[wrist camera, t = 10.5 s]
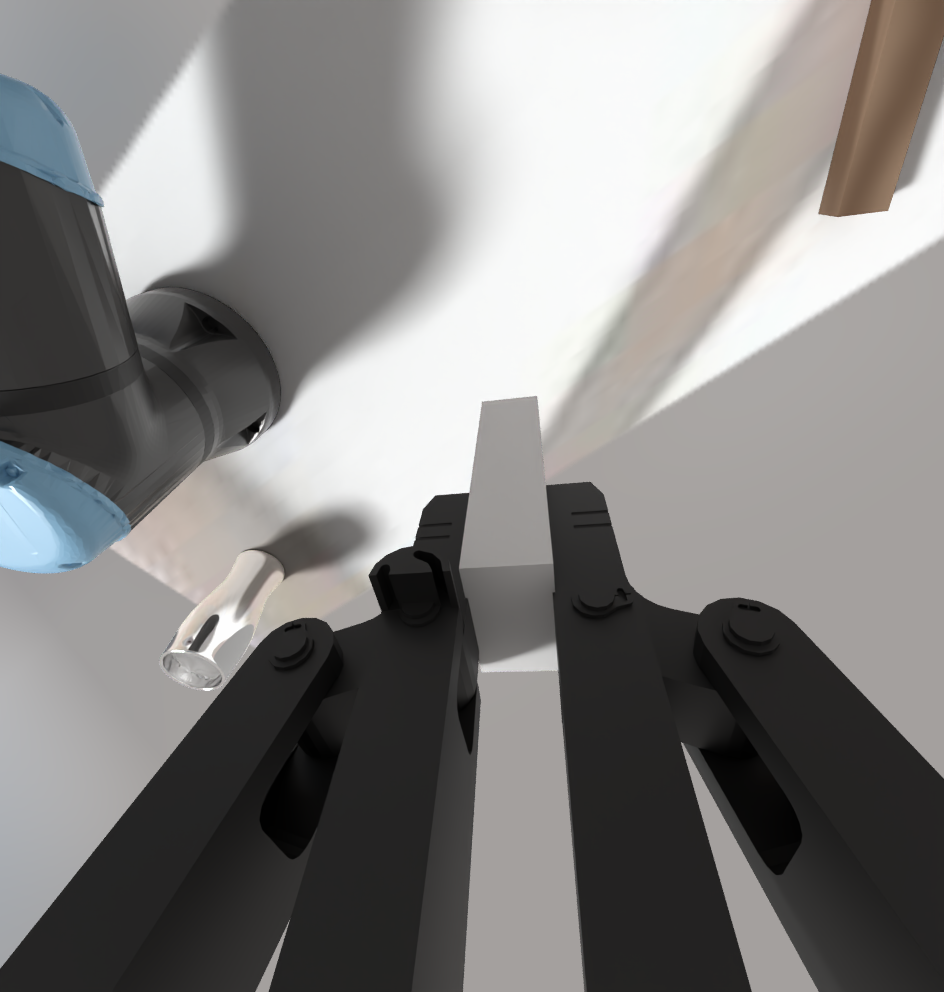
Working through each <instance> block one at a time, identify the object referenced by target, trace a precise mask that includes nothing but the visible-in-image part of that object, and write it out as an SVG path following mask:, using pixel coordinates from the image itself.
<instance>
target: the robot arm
mask: <svg viewBox="0 0 944 992" xmlns="http://www.w3.org/2000/svg"><path fill="white" fill-rule="evenodd" d="M101 207H104V203H103V200H102V198H101V197H100V196H99V194H97V193H96V191H95V188H94V185H93V183H92V180H91V177H90V174H89V171H88V167H87V165H86V161H85V158H84V155H83V152H82V149H81V146H80V143H79V140H78V137H77V134H76V131H75V129H74V127H73V125H72V123H71V122H70V120H69V119H68V117H67V116H66V114H65V113H64V112H63V111H62V110H61V108H60V107H59V106H58V105H57V104H56V103H55V102H54V101H53V100H51V99H50V98H49V97H48V96H46V95H45V94H43V93H42V92H41V91H39V90H38V89H36V88H34V87H32V86H31V85H29V84H26V83H24V82H22V81H20V80H17V79H14V78H12V77H9V76H6V75H3V74H0V567H4V568H7V569H12V570H17V571H23V572H31V573H60V572H66V571H70V570H73V569H76V568H79V567H81V566H83V565H85V564H87V563H89V562H91V561H92V560H93V559H95V558H96V557H97V556H98V555H100V554H101V553H102V552H103V551H104V550H106V549H107V548H108V547H110V546H111V545H112V544H113V543H115V542H117V541H120V540H122V539H123V538H125V537H126V536H127V535H128V534H129V533H130V531H131V530H132V529H133V528H134V527H135V526H136V525H137V524H138V523H139V522H140V521H142V520H143V519H144V518H145V517H146V516H147V515H148V514H149V513H150V512H151V511H152V510H153V509H154V508H155V507H156V506H157V505H158V504H159V503H160V502H161V501H162V500H163V499H165V498H166V497H167V496H168V495H169V494H170V493H171V492H172V491H173V490H174V489H175V488H176V487H177V486H178V485H179V484H180V483H181V482H182V481H183V480H184V479H185V478H187V477H188V476H189V475H190V474H191V473H192V472H193V471H194V470H195V469H196V468H197V467H198V466H199V465H200V464H201V463H203V462H204V461H207V460H210V459H213V458H217V457H220V456H223V455H226V454H229V453H232V452H235V451H238V450H241V449H243V448H245V447H247V446H248V445H250V444H252V443H253V442H254V441H256V440H257V439H258V438H259V437H260V436H261V435H262V434H263V433H264V432H265V431H266V430H267V429H268V428H269V427H270V425H271V424H272V423H273V421H274V419H275V417H276V415H277V412H278V409H279V405H280V396H281V390H280V381H279V376H278V372H277V369H276V366H275V364H274V361H273V359H272V357H271V355H270V353H269V351H268V349H267V347H266V346H265V344H264V343H263V341H262V340H261V338H260V337H259V336H258V334H257V333H256V332H255V331H254V330H253V328H252V327H251V326H250V325H249V324H248V323H247V322H246V321H245V320H244V319H243V318H242V317H240V316H239V315H238V314H237V313H236V312H234V311H233V310H232V309H230V308H229V307H227V306H226V305H224V304H223V303H221V302H219V301H218V300H216V299H214V298H212V297H210V296H208V295H205V294H202V293H200V292H197V291H193V290H189V289H184V288H176V287H166V288H158V289H154V290H151V291H148V292H145V293H142V294H139V295H136V296H133V297H131V298H129V299H127V300H126V299H125V296H124V292H123V288H122V284H121V281H120V277H119V273H118V269H117V265H116V262H115V258H114V254H113V250H112V247H111V243H110V239H109V235H108V231H107V228H106V224H105V220H104V216H103V212H102V209H101ZM369 578H370V581H371V584H372V587H373V589H374V592H375V595H376V597H377V600H378V603H379V606H380V608H381V611H382V612H381V614H380V615H378V616H377V617H375V618H373V619H371V620H368V621H366V622H364V623H361V624H357V625H354V626H351V627H348V628H345V629H342V630H339V631H335V632H333V631H332V630H331V628H330V626H329V625H328V624H327V622H324V621H322V620H319V619H317V618H301V619H297V620H294V621H291V622H288V623H285V624H284V625H282V626H280V627H279V628H277V629H275V630H274V631H272V632H271V633H270V634H269V635H268V636H267V637H266V638H265V639H264V640H263V641H262V642H261V643H260V644H259V645H258V646H257V648H256V649H255V650H254V651H253V653H252V654H251V655H250V656H249V658H248V659H247V660H246V661H245V663H244V664H243V665H242V666H241V668H240V669H239V670H238V671H237V673H236V674H235V675H234V676H233V678H232V679H231V680H230V682H229V683H228V684H227V685H226V687H225V688H224V689H223V690H222V691H221V693H220V694H219V695H218V696H217V698H216V699H215V700H214V701H213V703H212V704H211V705H210V706H209V708H208V709H207V710H206V711H205V713H204V714H203V715H202V716H201V718H200V719H199V720H198V721H197V723H196V724H195V725H194V727H193V728H192V729H191V730H190V732H189V733H188V734H187V735H186V737H185V738H184V739H183V741H182V742H181V743H180V744H179V745H178V747H177V748H176V749H175V750H174V752H173V753H172V754H171V755H170V757H169V758H168V759H167V760H166V762H165V763H164V764H163V766H162V767H161V768H160V769H159V770H158V772H157V773H156V774H155V775H154V777H153V778H152V779H151V780H150V782H149V783H148V784H147V786H146V787H145V788H144V790H143V791H142V792H141V793H140V794H139V795H138V797H137V798H136V799H135V800H134V802H133V803H132V804H131V806H130V807H129V808H128V809H127V811H126V812H125V813H124V814H123V816H122V817H121V818H120V819H119V821H118V822H117V823H116V824H115V826H114V827H113V828H112V829H111V831H110V832H109V833H108V834H107V836H106V837H105V838H104V839H103V841H102V842H101V843H100V844H99V846H98V847H97V848H96V849H95V851H94V852H93V853H92V854H91V856H90V857H89V858H88V859H87V861H86V862H85V863H84V865H83V866H82V867H81V868H80V869H79V871H78V872H77V873H76V874H75V876H74V877H73V878H72V880H71V881H70V882H69V883H68V885H67V886H66V887H65V888H64V890H63V891H62V892H61V893H60V895H59V896H58V897H57V898H56V900H55V901H54V902H53V903H52V905H51V906H50V907H49V908H48V910H47V911H46V912H45V913H44V915H43V916H42V917H41V918H40V920H39V921H38V922H37V923H36V925H35V926H34V927H33V928H32V930H31V931H30V932H29V933H28V935H27V936H26V937H25V938H24V940H23V941H22V942H21V943H20V945H19V946H18V947H17V948H16V950H15V951H14V952H13V954H12V955H11V956H10V957H9V958H8V960H7V961H6V962H5V964H4V965H3V966H2V967H1V968H0V992H255V991H256V989H257V987H258V985H259V983H260V981H261V979H262V976H263V974H264V972H265V970H266V968H267V966H268V964H269V961H270V960H271V958H272V955H273V953H274V951H275V949H276V947H277V945H278V943H279V941H280V939H281V937H282V934H283V932H284V930H285V928H286V926H287V924H288V922H289V920H290V922H289V925H288V928H287V932H286V936H285V938H284V942H283V946H282V949H281V952H280V955H279V959H278V962H277V965H276V969H275V972H274V976H273V979H272V982H271V986H270V989H269V992H463V978H464V963H465V946H466V930H467V915H468V914H467V913H468V898H469V881H470V865H471V849H472V832H473V817H474V800H475V784H476V768H477V752H478V736H479V718H480V703H481V699H480V693H479V687H478V683H477V674H478V662H479V663H480V667H481V672H511V671H552V670H553V671H555V670H558V673H559V685H560V699H561V712H562V713H561V714H562V724H563V736H564V747H565V760H566V772H567V784H568V795H569V808H570V821H571V832H572V845H573V857H574V870H575V881H576V894H577V906H578V917H579V929H580V943H581V953H582V954H581V955H582V966H583V978H584V990H585V992H752V991H751V988H750V984H749V980H748V977H747V973H746V970H745V966H744V963H743V959H742V956H741V952H740V949H739V945H738V942H737V938H736V935H735V932H734V928H733V924H732V921H731V917H730V914H729V910H728V907H727V903H726V900H725V896H724V893H723V889H722V886H721V882H720V879H719V875H718V871H717V868H716V864H715V861H714V858H713V854H712V850H711V847H710V844H709V840H708V836H707V833H706V829H705V826H704V822H703V819H702V815H701V812H700V809H699V805H698V802H697V798H696V794H695V791H694V788H693V784H692V780H691V777H690V773H689V770H688V766H687V763H686V759H685V756H684V752H683V749H682V745H681V742H682V743H684V745H685V747H686V749H687V751H688V753H689V755H690V756H691V758H692V760H693V762H694V764H695V765H696V768H697V769H698V771H699V773H700V775H701V777H702V779H703V780H704V782H705V784H706V786H707V788H708V789H709V791H710V793H711V795H712V797H713V799H714V800H715V802H716V804H717V806H718V808H719V810H720V811H721V813H722V815H723V817H724V819H725V821H726V822H727V824H728V826H729V828H730V830H731V831H732V833H733V835H734V837H735V839H736V841H737V843H738V844H739V846H740V848H741V850H742V852H743V854H744V855H745V857H746V859H747V861H748V863H749V865H750V866H751V868H752V870H753V872H754V874H755V876H756V877H757V879H758V881H759V883H760V885H761V887H762V888H763V890H764V892H765V894H766V896H767V898H768V899H769V901H770V903H771V905H772V907H773V908H774V910H775V912H776V914H777V916H778V917H779V920H780V921H781V923H782V925H783V927H784V929H785V931H786V932H787V934H788V936H789V938H790V940H791V942H792V943H793V945H794V947H795V949H796V951H797V952H798V954H799V956H800V958H801V960H802V962H803V963H804V965H805V967H806V969H807V971H808V973H809V975H810V976H811V978H812V980H813V982H814V984H815V986H816V987H817V989H818V991H819V992H944V779H943V778H942V777H941V775H940V774H939V773H938V772H937V771H936V770H935V769H934V768H933V767H932V766H931V765H930V764H929V763H928V762H927V761H926V760H925V759H924V758H923V757H922V756H921V754H920V753H919V752H918V751H917V750H916V749H915V748H914V747H913V746H912V745H911V744H910V743H909V742H908V741H907V740H906V739H905V738H904V737H903V736H902V735H901V734H900V733H899V731H897V729H896V728H895V727H894V726H893V725H892V724H891V723H890V722H889V721H888V720H887V719H886V718H885V717H884V716H883V715H882V714H881V713H880V712H879V711H878V709H877V708H876V707H875V706H874V705H873V704H872V703H871V702H870V701H869V700H868V699H867V698H866V697H865V696H864V695H863V694H862V693H861V692H860V691H859V690H858V689H857V687H856V686H855V685H854V684H853V683H852V682H851V681H850V680H849V679H848V678H847V677H846V676H845V675H844V674H843V673H842V672H841V671H840V670H839V669H838V668H837V667H836V666H835V665H834V663H833V662H832V661H831V660H830V659H829V658H828V657H827V656H826V655H825V654H824V653H823V652H822V651H821V650H820V649H819V648H818V647H817V646H816V645H815V644H814V643H813V641H812V640H811V639H810V638H809V637H808V636H807V635H806V634H805V633H804V632H803V631H802V630H801V629H800V628H799V627H798V626H797V625H796V624H795V623H794V622H793V621H792V620H791V619H789V618H788V617H787V616H785V615H784V614H783V613H781V612H780V611H779V610H777V609H775V608H773V607H770V606H768V605H766V604H764V603H761V602H759V601H754V600H749V599H744V598H727V599H720V600H717V601H715V602H713V603H711V604H708V605H707V606H706V607H705V608H704V609H703V611H702V612H701V613H700V614H699V615H698V614H693V613H689V612H684V611H679V610H674V609H670V608H666V607H663V606H660V605H657V604H655V603H653V602H651V601H649V600H647V599H645V598H644V597H643V596H641V595H640V594H639V593H637V592H636V591H635V590H634V588H633V587H632V586H631V585H630V584H629V582H628V580H627V577H626V575H625V572H624V568H623V564H622V561H621V557H620V553H619V549H618V546H617V542H616V539H615V535H614V531H613V528H612V526H611V520H610V516H609V513H608V509H607V505H606V501H605V498H604V495H603V493H602V492H601V491H600V490H598V489H597V488H596V487H595V486H594V485H593V484H592V483H591V482H583V483H570V484H557V485H546V483H545V473H544V462H543V452H542V441H541V431H540V421H539V410H538V400H537V396H532V397H523V398H514V399H504V400H495V401H485V402H482V407H481V414H480V421H479V428H478V435H477V442H476V450H475V457H474V464H473V471H472V478H471V485H470V493H462V494H449V495H437V496H434V498H433V499H432V500H431V501H430V502H429V503H428V504H427V506H426V507H425V508H424V509H423V511H422V515H421V519H420V523H419V528H418V530H417V534H416V541H414V545H413V546H411V547H406V548H401V549H399V550H397V551H394V552H392V553H390V554H388V555H386V556H385V557H384V558H382V559H381V560H380V561H379V562H378V563H376V564H375V566H374V567H373V569H372V571H371V572H370V574H369Z"/></svg>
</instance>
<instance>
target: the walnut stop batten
mask: <svg viewBox="0 0 944 992" xmlns="http://www.w3.org/2000/svg"><path fill="white" fill-rule="evenodd" d="M943 37H944V0H872V1H871V5H870V9H869V13H868V17H867V21H866V25H865V29H864V33H863V37H862V41H861V45H860V49H859V53H858V57H857V61H856V65H855V69H854V73H853V77H852V81H851V85H850V89H849V93H848V97H847V101H846V105H845V109H844V113H843V117H842V121H841V125H840V129H839V133H838V137H837V141H836V145H835V149H834V153H833V157H832V161H831V165H830V169H829V173H828V177H827V181H826V185H825V189H824V193H823V197H822V201H821V205H820V209H819V213H818V214H822V215H828V216H835V217H841V216H849V215H857V214H866V213H874V212H882V211H888V209H889V206H890V203H891V200H892V197H893V193H894V190H895V187H896V184H897V181H898V178H899V175H900V172H901V168H902V165H903V162H904V159H905V156H906V153H907V150H908V147H909V143H910V140H911V137H912V134H913V131H914V128H915V125H916V121H917V118H918V115H919V112H920V109H921V106H922V103H923V100H924V96H925V93H926V90H927V87H928V84H929V81H930V78H931V74H932V71H933V68H934V65H935V62H936V59H937V56H938V53H939V49H940V46H941V43H942V40H943Z"/></svg>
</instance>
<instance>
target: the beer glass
mask: <svg viewBox="0 0 944 992" xmlns="http://www.w3.org/2000/svg"><path fill="white" fill-rule="evenodd" d="M284 576H285V571H284V568H283V566H282V564H281V563H280V562H279V561H278V560H277V559H276V558H275V557H274V556H272V555H270V554H268V553H266V552H263V551H260V550H247V551H244V552H242V553H241V554H240V555H239V556H238V557H237V559H236V561H235V563H234V565H233V568H232V570H231V572H230V574H229V575H228V576H227V578H226V579H225V580H224V581H223V582H222V583H221V584H220V585H219V586H218V587H217V588H216V589H215V590H214V591H213V592H212V593H210V594H209V595H208V596H207V597H206V598H205V599H204V600H203V601H202V602H201V603H200V604H199V605H198V606H197V607H196V608H195V609H194V610H193V611H192V612H191V613H190V614H189V616H188V617H187V618H186V619H185V621H184V622H183V623H182V625H181V626H180V628H179V629H178V631H177V632H176V633H175V635H174V636H173V638H172V640H171V641H170V643H169V644H168V646H167V648H166V649H165V651H164V652H163V654H162V655H161V656H160V658H159V664H160V667H161V669H162V670H163V671H164V672H165V674H166V675H167V676H168V677H170V678H171V679H172V680H174V681H176V682H177V683H179V684H182V685H184V686H187V687H189V688H192V689H196V690H204V691H209V690H216V689H218V688H220V687H222V685H223V684H224V683H225V681H226V679H227V678H228V676H229V675H230V674H231V672H232V671H233V670H234V668H235V667H236V665H237V664H238V662H239V661H240V659H241V658H242V656H243V654H244V653H245V651H246V649H247V648H248V646H249V644H250V642H251V640H252V638H253V635H254V633H255V631H256V628H257V625H258V623H259V620H260V617H261V614H262V611H263V608H264V606H265V603H266V601H267V599H268V597H269V596H270V594H271V593H272V592H273V591H274V590H275V588H276V587H277V586H278V585H279V584H280V583H281V582H282V581H283V579H284Z"/></svg>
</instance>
